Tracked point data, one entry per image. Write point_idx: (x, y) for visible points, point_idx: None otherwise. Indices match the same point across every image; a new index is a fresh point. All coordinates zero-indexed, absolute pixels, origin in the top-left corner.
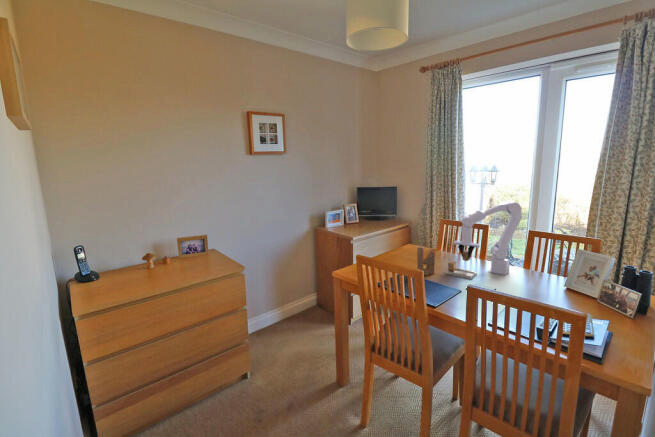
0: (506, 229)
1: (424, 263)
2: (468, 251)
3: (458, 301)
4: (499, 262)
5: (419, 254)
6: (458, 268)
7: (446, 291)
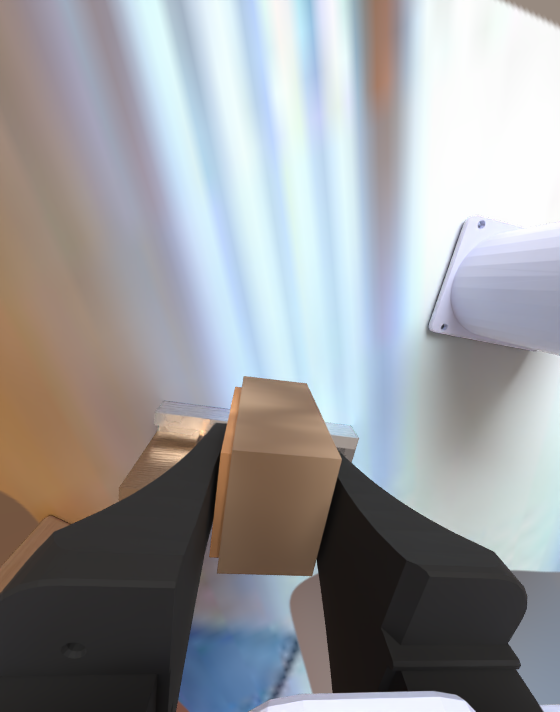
0: None
1: None
2: (326, 604)
3: None
4: None
5: None
6: (213, 423)
7: (240, 668)
